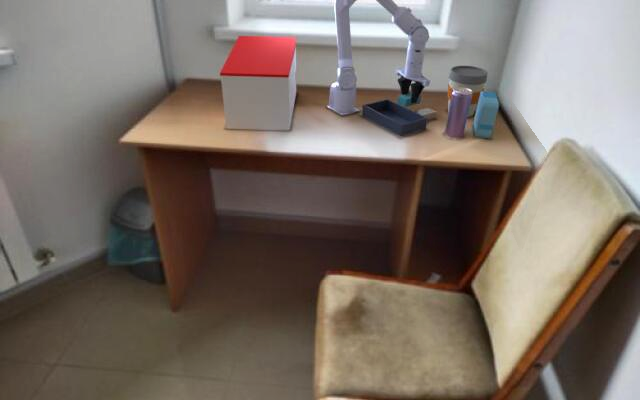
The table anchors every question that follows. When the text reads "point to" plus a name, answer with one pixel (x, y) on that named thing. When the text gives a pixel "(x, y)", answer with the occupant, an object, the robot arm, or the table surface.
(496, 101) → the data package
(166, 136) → the table surface
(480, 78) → the lidded jar
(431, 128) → the table surface
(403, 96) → the block
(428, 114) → the silver metal block
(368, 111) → the box
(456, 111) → the beverage can
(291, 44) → the red-topped white block
